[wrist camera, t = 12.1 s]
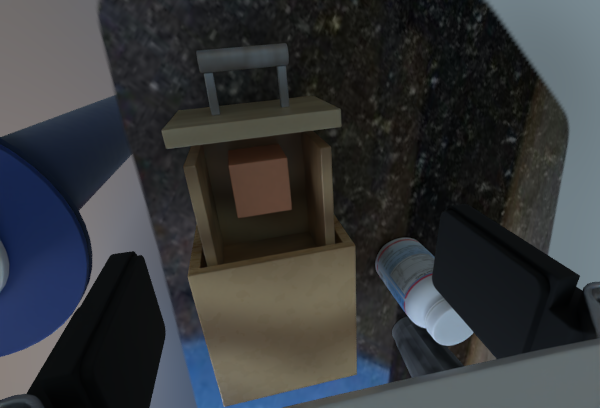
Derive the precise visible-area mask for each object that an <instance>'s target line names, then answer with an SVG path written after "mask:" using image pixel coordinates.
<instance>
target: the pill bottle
mask: <svg viewBox="0 0 600 408" xmlns="http://www.w3.org/2000/svg"><path fill="white" fill-rule="evenodd" d="M434 259H435V257H434V256H433V255H432V254H431V253H430V252H429V251H428V250H427V249H426V248H425V247H424V246H423V245H422V244H420V243H419V242H418V241H417V240H415V239H412V238H398V239H395V240H392V241H390V242H388V243H387V244H386V245H384V246H383V247H382V249H381V250H380V251H379V253H378V255H377V258H376V262H375V267H376V271H377V273H378V275H379V276H380V278H381V279H382V280H383V282H384V283H385V285H386V286H387V288H388V289H389V290H390V292H391V293H392V295H393V296H394V297H395V299H396V300H397V302H398V303H399V304H400V306H401V307H402V309H403V310H404V312H405V313H406V314H407V316H408V317H409V318H410V320H411V321H412V322H413V323H415V324H416V325H418V326H420V327H422V328H426V329H427V331H428V333H429V334H430V335H431V336H432V337H433V339H434V340H435V341H436V342H437V343H439V344H441V345H446V346H449V345H455V344H458V343H460V342H462V341H464V340H466V339H467V338H468V337H470V336H471V335H472V334H473V333H474V332H473V331H472V330H471V329H470V328H469V326H468V325H467V324H466V323H465V322H464V321H463V320H462V318H461V317H460V316H459V315H458V314H457V313H456V312H455V310H454V309H453V308H452V307H451V306H450V305H449V304H448V302H447V301H446V300H445V299H444V298H443V297H442V296H441V294H440V293H439V292H438V291H437V290H436V289H435V287H434V285H433V282H432V273H433V266H434Z"/></svg>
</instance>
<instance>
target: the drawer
mask: <svg viewBox="0 0 600 408" xmlns="http://www.w3.org/2000/svg"><path fill="white" fill-rule="evenodd" d="M197 61H198V66H199V70H200V72H201V73H204V78H205V83H206V89H207V94H208V99H209V104H210V107H206V108H197V109H188V110H179V111H178V112H177V113H176V114H175V115H174V116H173V117H172V119H171V120H170V121H169V122H168V123H167V125H166V126H165V127H164V128H163V129H162V135H163V139H164V142H165V146H166V149H171V148H179V147H187V146H191V148H190V150H189V153H188V156H187V158H186V161H185V164H184V166H183V169H184V173H185V177H186V181H187V185H188V189H189V193H190V197H191V201H192V205H193V210H194V214H195V218H196V222H197V226H198V230H199V234H200V238H201V242H202V246H203V251H204V255H205V259H206V263H207V267H210V266H216V265H221V264H227V263H232V262H238V261H243V260H249V259H254V258H260V257H265V256H271V255H276V254H282V253H287V252H293V251H298V250H304V249H309V248H315V247H320V246H326V245H331V244H335V230H334V205H333V181H332V156H331V146H330V145H328V144H327V143H326V142H325V141H324V140H323V139H322V138H320V137H319V136H318V135H317V134H316V133H315V132H314V131H313V130H320V129H328V128H336V127H341V109H340V108H338V107H335V106H333V105H331V104H329V103H327V102H325V101H323V100H321V99H319V98H317V97H315V96H305V97H296V98H289V95H288V84H287V73H286V66H285V65H288V63H289V54H288V47H287V44H286V43H280V44H268V45H257V46H245V47H233V48H222V49H210V50H199V51H197ZM273 66H277V67H276V68H277V77H278V87H279V97H280V99H278V100H269V101H260V102H251V103H242V104H233V105H224V106H219V103H218V98H217V92H216V87H215V81H214V75H213V72H221V71H232V70H242V69H253V68H263V67H273ZM273 144H279V145H280V147H281V149H282V150H283V152H284V154H285V155H286V157H287V161H288V171H289V181H290V191H291V201H292V210H287V211H281V212H275V213H269V214H263V215H256V216H250V217H244V218H238V217H237V212H236V206H235V201H234V195H233V190H232V184H231V179H230V173H229V168H228V150H235V149H242V148H250V147H257V146H265V145H273Z"/></svg>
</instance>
